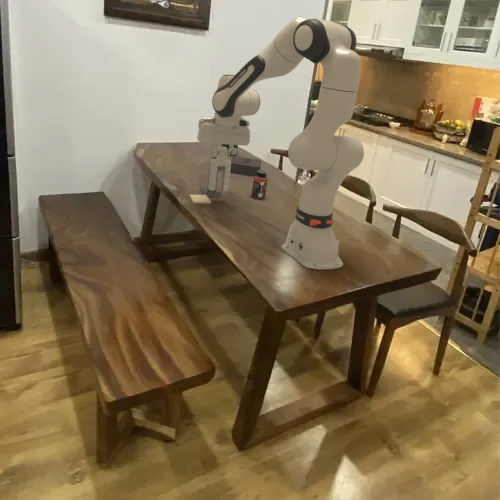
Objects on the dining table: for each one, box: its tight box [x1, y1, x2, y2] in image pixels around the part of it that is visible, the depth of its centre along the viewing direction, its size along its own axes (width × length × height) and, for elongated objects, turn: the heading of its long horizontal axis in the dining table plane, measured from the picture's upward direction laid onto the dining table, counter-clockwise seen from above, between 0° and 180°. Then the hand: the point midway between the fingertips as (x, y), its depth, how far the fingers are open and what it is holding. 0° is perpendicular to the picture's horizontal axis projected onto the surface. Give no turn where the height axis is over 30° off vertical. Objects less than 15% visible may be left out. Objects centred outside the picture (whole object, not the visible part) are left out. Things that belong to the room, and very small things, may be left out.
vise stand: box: [200, 154, 224, 198], centre depth 199 cm, size 15×7×16 cm, turn 19°
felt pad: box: [189, 194, 212, 204], centre depth 196 cm, size 8×7×1 cm
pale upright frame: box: [207, 146, 231, 192], centre depth 192 cm, size 3×7×17 cm, turn 109°
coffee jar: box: [220, 144, 239, 157], centre depth 264 cm, size 10×8×19 cm
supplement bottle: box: [251, 170, 269, 200], centre depth 207 cm, size 6×6×11 cm
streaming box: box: [230, 155, 262, 177], centre depth 241 cm, size 14×14×5 cm
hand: (221, 155), depth 189 cm, fingers closed on pale upright frame, 3 cm apart
